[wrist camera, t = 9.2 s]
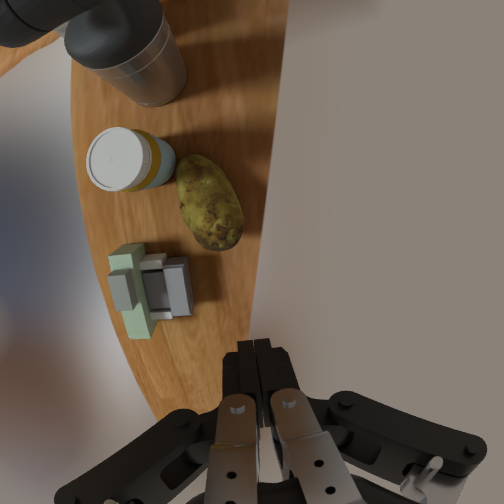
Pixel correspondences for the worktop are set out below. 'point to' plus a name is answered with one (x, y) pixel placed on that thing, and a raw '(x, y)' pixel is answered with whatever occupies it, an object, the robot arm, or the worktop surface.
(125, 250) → the green block cluster
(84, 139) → the worktop surface
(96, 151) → the bottle
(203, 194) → the potato
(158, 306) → the grey stepped block
